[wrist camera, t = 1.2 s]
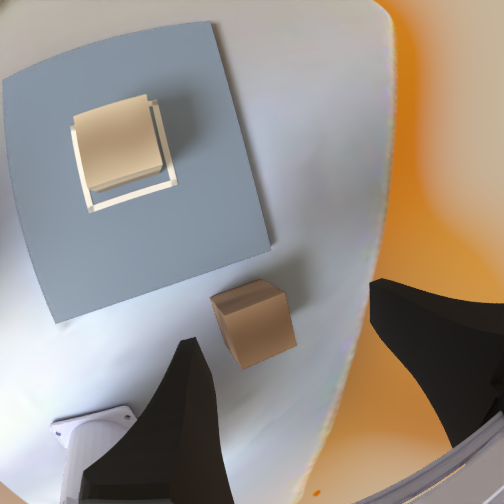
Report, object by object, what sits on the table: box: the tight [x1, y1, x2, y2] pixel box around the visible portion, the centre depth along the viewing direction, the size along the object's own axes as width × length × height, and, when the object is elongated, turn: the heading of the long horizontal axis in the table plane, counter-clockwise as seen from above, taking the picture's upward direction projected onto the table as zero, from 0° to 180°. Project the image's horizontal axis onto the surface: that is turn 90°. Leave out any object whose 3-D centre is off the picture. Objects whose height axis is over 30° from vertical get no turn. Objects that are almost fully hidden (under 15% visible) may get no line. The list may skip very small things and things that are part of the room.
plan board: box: [3, 21, 271, 324], centre depth 17 cm, size 18×16×1 cm
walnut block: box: [210, 279, 297, 369], centre depth 20 cm, size 4×4×4 cm
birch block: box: [73, 94, 163, 193], centre depth 15 cm, size 4×4×4 cm
